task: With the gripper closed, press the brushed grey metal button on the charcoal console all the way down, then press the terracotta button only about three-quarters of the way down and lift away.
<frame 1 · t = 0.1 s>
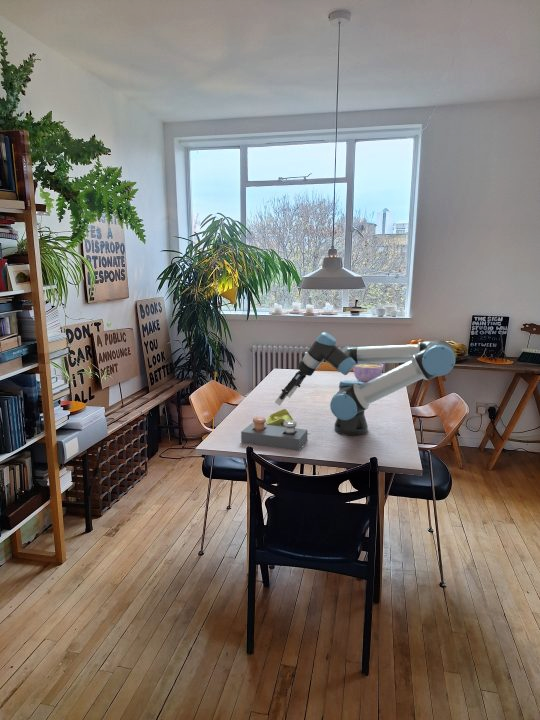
hand: (282, 399, 209), 15 cm above the table, tool tilted 35°, fingers open, 13 cm apart
console: (274, 441, 200), on the table
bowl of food: (367, 382, 302), on the table
grey button: (289, 429, 197), point 6 cm above the table, slide at 0.0 cm
yellow-green crumpled fabric: (279, 427, 219), on the table
terracotta button: (259, 425, 201), point 6 cm above the table, slide at 0.0 cm
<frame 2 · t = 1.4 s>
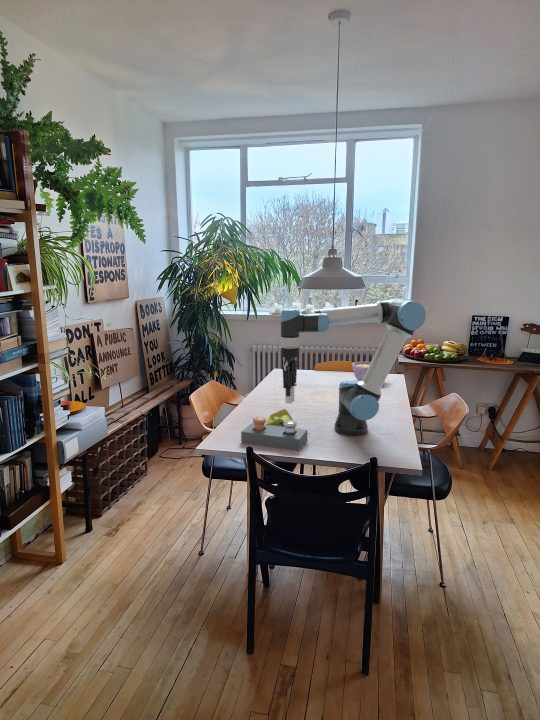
hand: (289, 402, 194), 18 cm above the table, tool pointing down, fingers open, 2 cm apart
nothing on the table moved.
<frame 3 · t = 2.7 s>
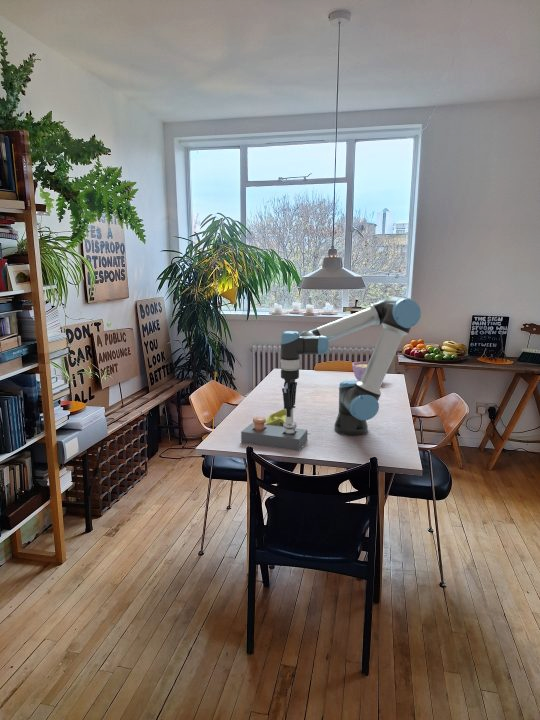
hand: (289, 423, 196), 9 cm above the table, tool pointing down, fingers closed
grey button: (289, 430, 197), point 6 cm above the table, slide at 0.4 cm, touching gripper
everything else where it was.
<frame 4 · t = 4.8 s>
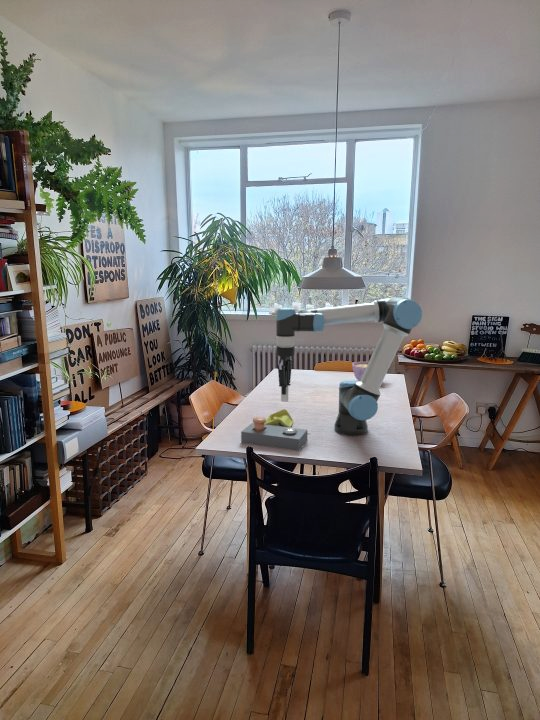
hand: (284, 401, 195), 19 cm above the table, tool pointing down, fingers closed
grey button: (289, 436, 197), point 3 cm above the table, slide at 3.1 cm
everything else where it was.
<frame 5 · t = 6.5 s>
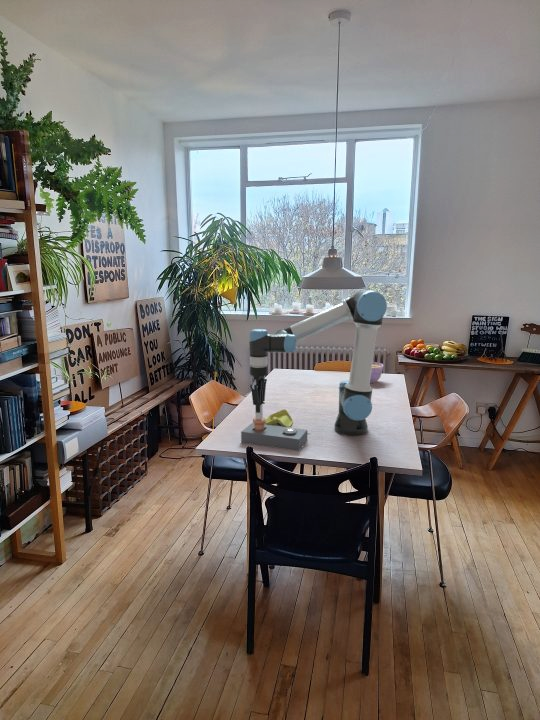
hand: (259, 418, 201), 10 cm above the table, tool pointing down, fingers closed
terracotta button: (259, 425, 201), point 6 cm above the table, slide at 0.2 cm, touching gripper
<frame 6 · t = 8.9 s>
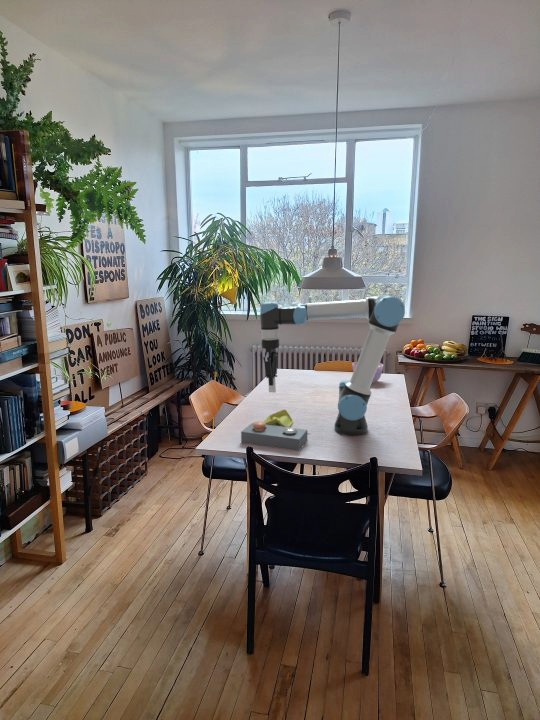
hand: (272, 391, 203), 20 cm above the table, tool pointing down, fingers closed
terracotta button: (259, 430, 202), point 4 cm above the table, slide at 2.0 cm
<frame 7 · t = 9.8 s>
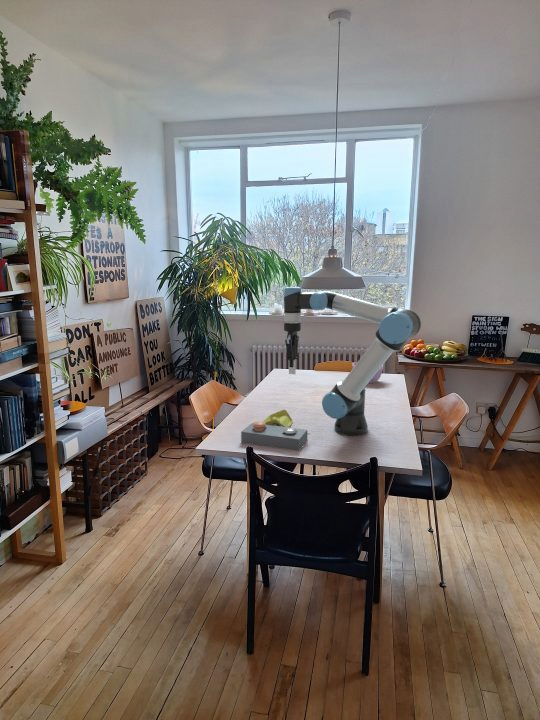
hand: (292, 373, 211), 26 cm above the table, tool pointing down, fingers closed
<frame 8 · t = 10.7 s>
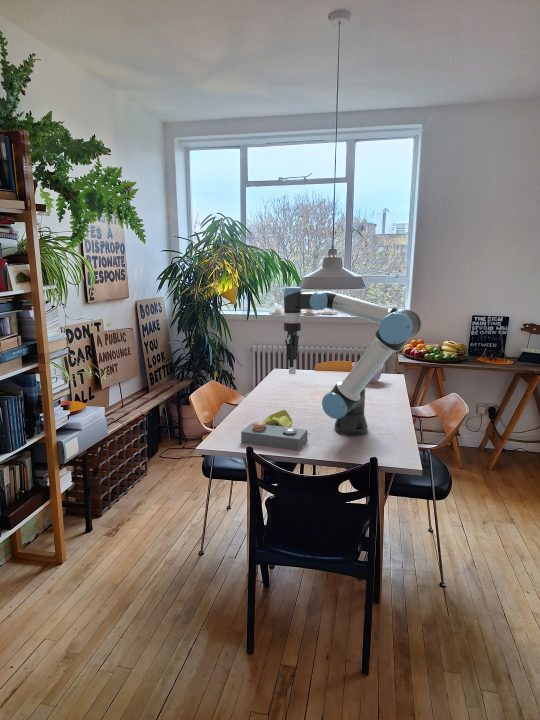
hand: (292, 373, 211), 26 cm above the table, tool pointing down, fingers closed
at the end: grey button slide at 3.1 cm; terracotta button slide at 2.0 cm; yellow-green crumpled fabric moved 1.8 cm from its start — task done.
